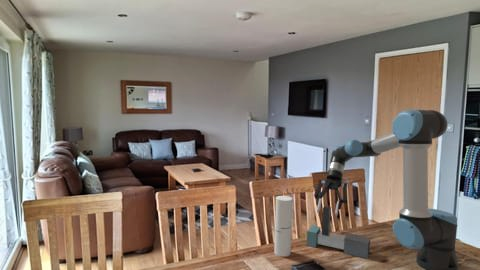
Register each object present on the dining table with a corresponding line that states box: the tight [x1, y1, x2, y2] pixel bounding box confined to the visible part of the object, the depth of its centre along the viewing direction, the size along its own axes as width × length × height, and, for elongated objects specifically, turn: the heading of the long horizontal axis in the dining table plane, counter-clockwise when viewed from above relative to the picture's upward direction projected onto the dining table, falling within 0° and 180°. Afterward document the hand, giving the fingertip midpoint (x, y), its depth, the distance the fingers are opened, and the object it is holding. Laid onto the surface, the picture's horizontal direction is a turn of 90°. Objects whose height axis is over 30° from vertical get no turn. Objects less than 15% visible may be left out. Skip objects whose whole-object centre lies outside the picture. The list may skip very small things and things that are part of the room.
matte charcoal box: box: [343, 232, 371, 260], centre depth 144 cm, size 10×7×7 cm
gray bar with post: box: [316, 205, 346, 251], centre depth 149 cm, size 18×5×17 cm, turn 62°
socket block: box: [306, 224, 322, 248], centre depth 153 cm, size 4×8×7 cm, turn 152°
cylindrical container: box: [274, 195, 293, 258], centre depth 142 cm, size 7×7×25 cm
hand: (326, 213), depth 152 cm, fingers open, 8 cm apart
